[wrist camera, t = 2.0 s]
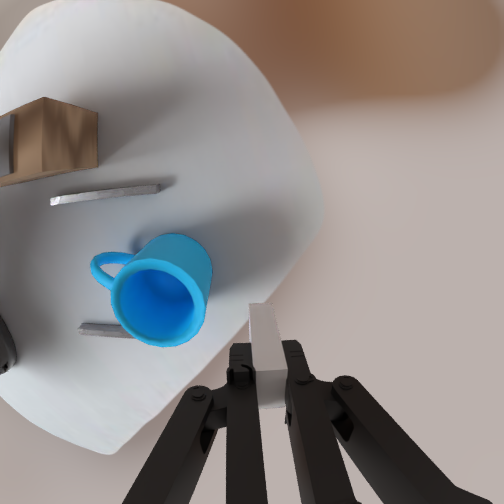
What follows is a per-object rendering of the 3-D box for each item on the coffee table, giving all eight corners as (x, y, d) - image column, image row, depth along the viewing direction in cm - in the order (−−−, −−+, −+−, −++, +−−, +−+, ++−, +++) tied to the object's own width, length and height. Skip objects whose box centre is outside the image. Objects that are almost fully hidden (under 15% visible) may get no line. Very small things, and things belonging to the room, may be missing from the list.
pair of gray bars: (84, 328, 31) (79, 334, 29) (57, 196, 26) (50, 198, 24) (176, 332, 31) (174, 339, 30) (159, 184, 26) (155, 185, 25)
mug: (222, 247, 29) (218, 277, 21) (201, 313, 31) (192, 358, 23) (116, 212, 27) (78, 230, 19) (104, 280, 29) (71, 314, 21)
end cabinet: (97, 167, 25) (37, 172, 15) (22, 182, 24) (-37, 195, 14) (97, 113, 23) (39, 95, 13) (21, 135, 23) (-38, 135, 13)
